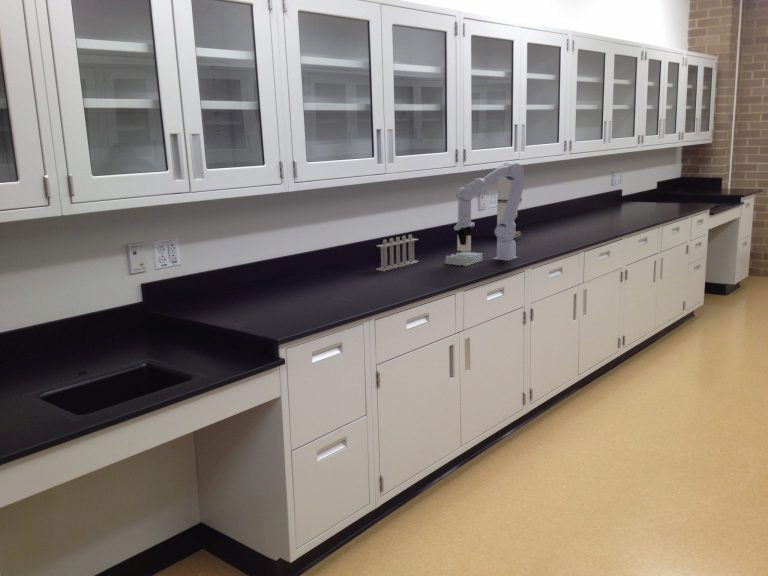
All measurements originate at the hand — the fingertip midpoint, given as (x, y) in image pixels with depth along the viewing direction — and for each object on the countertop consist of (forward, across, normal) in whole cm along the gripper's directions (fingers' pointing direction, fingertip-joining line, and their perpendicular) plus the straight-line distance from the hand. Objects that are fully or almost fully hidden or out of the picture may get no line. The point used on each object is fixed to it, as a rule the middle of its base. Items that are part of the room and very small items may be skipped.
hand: (464, 244), depth 306 cm
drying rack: (+8, 0, 0) cm, 8 cm away
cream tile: (+3, 0, 0) cm, 3 cm away
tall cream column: (+9, -80, -20) cm, 83 cm away
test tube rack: (+9, +23, -20) cm, 32 cm away
